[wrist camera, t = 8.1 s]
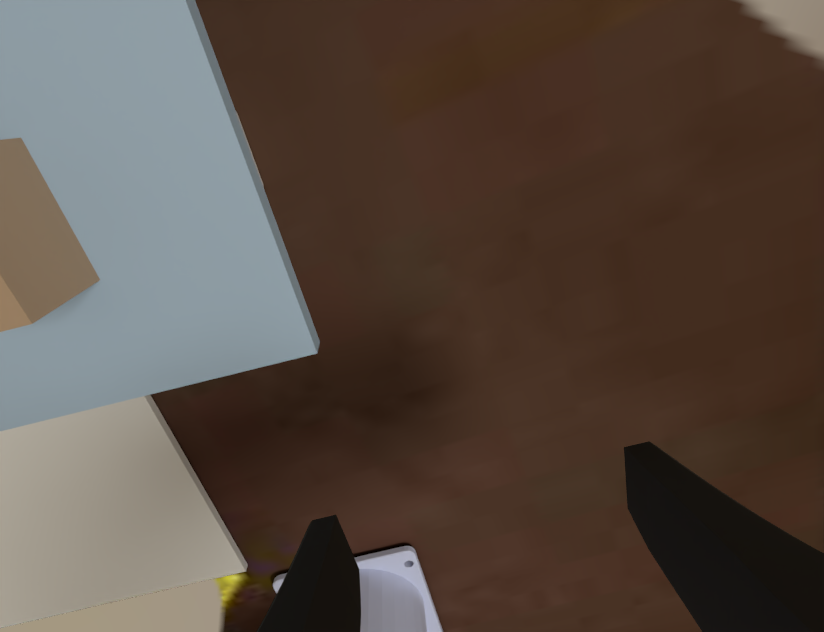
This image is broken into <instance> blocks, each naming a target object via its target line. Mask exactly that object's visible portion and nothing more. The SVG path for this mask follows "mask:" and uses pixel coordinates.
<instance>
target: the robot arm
mask: <svg viewBox="0 0 824 632" xmlns="http://www.w3.org/2000/svg"><path fill="white" fill-rule="evenodd" d="M624 454H625V471H626V487H627V504H628V509H629V511H630V513H631V515H632V517H633V519H634V522H635V524H636V526H637V528H638V530H639V531H640V533H641V535H642V537H643V539H644V541H645V543H646V545H647V547H648V549H649V550H650V552H651V554H652V555H653V557H654V558H655V560H656V561H657V563H658V564H659V566H660V568H661V569H662V571H663V572H664V574H665V575H666V577H667V578H668V580H669V581H670V583H671V584H672V586H673V587H674V589H675V591H676V592H677V594H678V595H679V597H680V598H681V600H682V601H683V603H684V604H685V606H686V607H687V609H688V610H689V612H690V613H691V615H692V616H693V618H694V619H695V621H696V623H697V624H698V626H699V627H700V629H701V630H702V632H824V553H822V552H820V551H818V550H816V549H814V548H813V547H811V546H809V545H807V544H805V543H804V542H802V541H800V540H799V539H797V538H795V537H793V536H792V535H790V534H788V533H786V532H785V531H783V530H781V529H780V528H778V527H776V526H775V525H773V524H771V523H770V522H768V521H766V520H765V519H763V518H762V517H760V516H758V515H757V514H755V513H754V512H752V511H750V510H749V509H747V508H746V507H744V506H743V505H741V504H740V503H738V502H736V501H735V500H733V499H732V498H730V497H729V496H727V495H726V494H724V493H723V492H721V491H720V490H718V489H717V488H715V487H714V486H712V485H711V484H709V483H708V482H706V481H705V480H703V479H702V478H701V477H699V476H698V475H696V474H695V473H693V472H692V471H690V470H689V469H688V468H686V467H685V466H683V465H682V464H681V463H679V462H678V461H676V460H675V459H674V458H672V457H671V456H669V455H668V454H667V453H665V452H664V451H662V450H661V449H660V448H658V447H657V446H655V445H654V444H652V443H651V442H645V443H641V444H636V445H632V446H628V447H624ZM273 588H274V590H275V592H276V596H275V598H274V600H273V602H272V604H271V606H270V608H269V610H268V612H267V614H266V616H265V618H264V620H263V621H262V623H261V625H260V627H259V629H258V630H257V632H443V630H442V627H441V624H440V621H439V618H438V615H437V612H436V609H435V606H434V604H433V601H432V598H431V595H430V592H429V589H428V586H427V583H426V580H425V577H424V574H423V571H422V569H421V566H420V563H419V560H418V557H417V554H416V551H415V549H414V548H413V547H411V546H402V547H398V548H393V549H389V550H384V551H380V552H376V553H371V554H367V555H363V556H358V557H354V556H353V554H352V551H351V549H350V547H349V544H348V542H347V539H346V537H345V535H344V532H343V530H342V528H341V525H340V523H339V521H338V518H337V516H336V515H333V516H329V517H325V518H321V519H316V520H312V522H311V523H310V525H309V527H308V529H307V531H306V533H305V536H304V538H303V540H302V542H301V544H300V547H299V549H298V551H297V553H296V555H295V557H294V560H293V562H292V564H291V566H290V568H289V570H288V572H287V573H285V574H280V575H278V576H276V577H275V578H274V582H273Z"/></svg>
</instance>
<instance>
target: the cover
mask: <svg viewBox="0 0 824 632" xmlns="http://www.w3.org/2000/svg"><path fill="white" fill-rule="evenodd" d="M319 344H320V341H319V338H318V335H317V333H316V330H315V327H314V324H313V322H312V319H311V316H310V314H309V311H308V308H307V305H306V303H305V300H304V297H303V294H302V292H301V289H300V286H299V283H298V281H297V278H296V275H295V273H294V270H293V267H292V264H291V262H290V259H289V256H288V253H287V251H286V248H285V245H284V242H283V240H282V237H281V234H280V231H279V229H278V226H277V223H276V221H275V218H274V215H273V212H272V210H271V207H270V204H269V201H268V199H267V196H266V193H265V190H264V188H263V185H262V182H261V180H260V177H259V174H258V171H257V169H256V166H255V163H254V160H253V158H252V155H251V152H250V149H249V147H248V144H247V141H246V139H245V136H244V133H243V130H242V128H241V125H240V122H239V119H238V117H237V114H236V111H235V108H234V106H233V103H232V100H231V98H230V95H229V92H228V89H227V87H226V84H225V81H224V78H223V76H222V73H221V70H220V67H219V65H218V62H217V59H216V57H215V54H214V51H213V48H212V46H211V43H210V40H209V37H208V35H207V32H206V29H205V26H204V24H203V21H202V18H201V16H200V13H199V10H198V7H197V5H196V2H195V0H0V431H4V430H8V429H12V428H16V427H20V426H24V425H28V424H32V423H36V422H40V421H45V420H49V419H53V418H57V417H61V416H65V415H69V414H73V413H77V412H81V411H85V410H89V409H93V408H97V407H101V406H106V405H110V404H114V403H118V402H122V401H126V400H130V399H134V398H138V397H142V396H146V395H150V394H154V393H158V392H162V391H167V390H171V389H175V388H179V387H183V386H187V385H191V384H195V383H199V382H203V381H207V380H211V379H215V378H219V377H223V376H228V375H232V374H236V373H240V372H244V371H248V370H252V369H256V368H260V367H264V366H268V365H272V364H276V363H280V362H284V361H289V360H293V359H297V358H301V357H305V356H309V355H313V354H317V352H318V348H319Z"/></svg>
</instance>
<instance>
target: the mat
mask: <svg viewBox="0 0 824 632" xmlns="http://www.w3.org/2000/svg"><path fill="white" fill-rule="evenodd" d="M247 566H248V564H247V562H246V561H245V559H244V557H243V555H242V554H241V552H240V550H239V548H238V547H237V545H236V543H235V541H234V540H233V538H232V536H231V534H230V533H229V531H228V529H227V528H226V526H225V524H224V522H223V521H222V519H221V517H220V515H219V514H218V512H217V510H216V508H215V507H214V505H213V503H212V501H211V500H210V498H209V496H208V494H207V493H206V491H205V489H204V487H203V486H202V484H201V482H200V480H199V479H198V477H197V475H196V473H195V472H194V470H193V468H192V466H191V465H190V463H189V461H188V459H187V458H186V456H185V454H184V452H183V451H182V449H181V447H180V445H179V444H178V442H177V440H176V439H175V437H174V435H173V433H172V432H171V430H170V428H169V426H168V425H167V423H166V421H165V419H164V418H163V416H162V414H161V412H160V411H159V409H158V407H157V405H156V404H155V402H154V400H153V398H152V397H151V395H146V396H142V397H138V398H134V399H130V400H126V401H122V402H118V403H114V404H110V405H106V406H101V407H97V408H93V409H89V410H85V411H81V412H77V413H73V414H69V415H65V416H61V417H57V418H53V419H49V420H45V421H40V422H36V423H32V424H28V425H24V426H20V427H16V428H12V429H8V430H4V431H0V628H3V627H8V626H12V625H16V624H21V623H24V622H29V621H33V620H38V619H42V618H46V617H51V616H55V615H59V614H64V613H68V612H73V611H76V610H81V609H86V608H90V607H94V606H99V605H102V604H107V603H111V602H116V601H120V600H124V599H129V598H133V597H137V596H142V595H146V594H150V593H155V592H159V591H163V590H167V589H172V588H176V587H180V586H185V585H189V584H193V583H197V582H202V581H206V580H211V579H215V578H219V577H224V576H228V575H232V574H237V573H241V572H245V571H246V569H247Z"/></svg>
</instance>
